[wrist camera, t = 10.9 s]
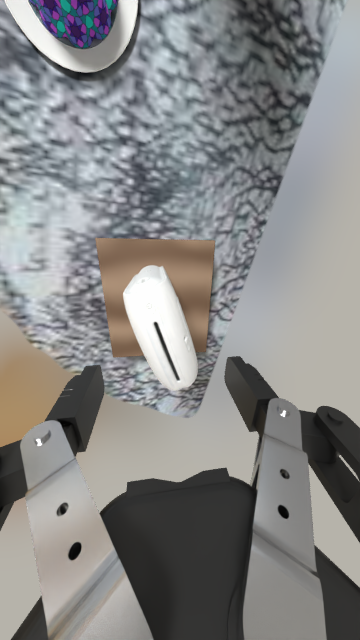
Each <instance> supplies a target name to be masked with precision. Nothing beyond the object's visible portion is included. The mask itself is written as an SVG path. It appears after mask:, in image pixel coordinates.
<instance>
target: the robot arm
mask: <svg viewBox="0 0 360 640" xmlns="http://www.w3.org/2000/svg"><path fill="white" fill-rule="evenodd" d="M225 383H226V386H227V388H228V390H229V392H230V394H231V396H232V398H233V400H234V402H235V404H236V406H237V408H238V410H239V412H240V414H241V416H242V418H243V420H244V422H245V424H246V426H247V428H248V430H249V432H253V431H257V432H258V434H259V439H258V445H257V450H256V456H255V462H254V468H253V473H252V478H251V482H250V485H249V484H247V483H245V482H244V481H242V480H239V479H237V478H234V477H230V476H229V474H228V471H227V468H221V469H213V470H208V471H202V472H200V473H198V474H196V475H194V476H193V477H190V478H188V479H186V480H184V481H182V482H171V481H165V480H159V479H154V478H153V479H145V480H139V481H132V482H127V491H126V492H125V493H123V494H121V495H119V496H118V497H116V498H115V499H114V500H112V501H111V502H110V503H109V504H108V505H107V506H106V507H105V508H104V509H103V510H102V511H101V512H100V513H99V511H98V509H97V506H96V504H95V502H94V500H93V497H92V495H91V492H90V490H89V488H88V485H87V483H86V481H85V478H84V476H83V474H82V471H81V469H80V467H79V464H78V462H77V460H76V458H75V456H76V454H77V452H84V451H86V448H87V445H88V442H89V439H90V435H91V433H92V429H93V426H94V423H95V420H96V417H97V414H98V411H99V408H100V405H101V402H102V398H103V395H104V381H103V376H102V371H101V366H100V365H93V366H86V367H85V368H84V370H83V372H82V373H81V375H76V376H75V377H73V378H72V379H71V380H70V381H69V382H68V383H67V385H66V387H65V388H64V391H62V393H61V395H60V397H59V398H58V400H57V401H56V403H55V405H54V406H53V408H52V410H51V412H50V413H49V415H48V416H47V418H46V419H45V421H44V422H42V423H40V424H38V425H37V426H35V427H33V428H32V429H31V430H30V431H29V432H27V433H26V435H25V436H24V437H23V439H22V440H19V441H16V442H14V443H11V444H8V445H5V446H3V447H0V530H1V528H2V526H3V524H4V522H5V520H6V518H7V516H8V514H9V512H10V510H11V508H12V505H13V503H14V501H16V500H19V499H21V498H23V497H25V498H26V505H27V511H28V516H29V522H30V529H31V534H32V540H33V546H34V552H35V558H36V564H37V570H38V576H39V582H40V588H41V594H42V596H41V597H40V598H39V600H38V601H37V603H36V604H35V606H34V607H33V609H32V610H31V611H30V613H29V614H28V616H27V617H26V619H25V620H24V621H23V623H22V624H21V626H20V627H19V629H18V630H17V632H16V633H15V634H14V636H13V637H12V639H11V640H360V588H359V587H358V586H357V585H356V584H355V583H354V582H353V581H352V580H351V579H350V578H349V577H348V576H347V575H346V574H345V573H344V572H342V570H341V569H339V568H338V567H337V566H336V565H335V564H334V563H333V562H332V561H330V559H329V558H328V557H327V556H326V555H325V554H324V553H322V552H321V551H320V550H319V549H318V548H317V547H316V546H315V545H314V536H313V522H312V508H311V495H310V482H309V468H308V463H309V465H310V466H311V468H312V469H313V471H314V472H315V474H316V476H317V477H318V479H319V480H320V482H321V483H322V485H323V486H324V488H325V489H326V491H327V492H328V494H329V496H330V497H331V499H332V500H333V502H334V503H335V505H336V506H337V508H338V510H339V511H340V513H341V514H342V515H343V517H344V519H345V521H346V522H347V524H348V525H349V527H350V528H351V530H352V531H353V533H354V534H355V536H356V538H357V539H358V541H359V542H360V482H359V481H360V428H359V427H358V426H357V425H356V424H355V423H354V422H353V421H352V420H351V419H350V418H349V417H348V416H347V415H345V414H344V413H342V412H341V411H339V410H337V409H335V408H332V407H329V406H321V407H319V408H318V409H317V411H316V413H313V412H306V411H301V410H298V409H297V407H296V406H295V405H293V404H292V403H291V402H289V401H287V400H285V399H281V398H279V397H278V396H277V395H276V393H275V392H274V391H273V390H272V388H271V387H270V386H269V385H268V383H267V382H266V381H265V380H264V378H263V377H262V376H261V375H260V373H259V372H258V371H257V370H256V369H255V368H254V367H253V366H251V365H250V364H246V363H245V362H244V361H243V360H242V358H241V357H240V356H236V357H228V358H227V363H226V369H225ZM339 455H341V456H342V457H343V458H344V460H345V461H346V462H347V463H348V464H349V465H350V467H351V468H352V469H353V471H354V472H355V473H356V475H357V476H358V479H359V481H358V480H357V479H356V477H355V476H354V475H353V474H352V472H351V471H350V470H349V468H348V467H347V466H346V465H345V463H344V462H343V461H342V460H341V458H339Z"/></svg>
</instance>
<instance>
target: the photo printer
mask: <svg viewBox="0 0 360 640" xmlns="http://www.w3.org/2000/svg"><path fill="white" fill-rule="evenodd" d="M123 299H124V304H125V309H126V312H127V315H128V318H129V321H130V323H131V326H132V328H133V331H134V334H135V336H136V338H137V341H138V343H139V345H140V347H141V350H142V352H143V354H144V356H145V358H146V360H147V362H148V364H149V366H150V367H151V369H152V371H153V373H154V374H155V376H156V377H157V379H158V380H159V381H160V382H161V383H162V384H163V385H164V386H165V387H166V388H167V389H169V390H173V391H177V390H179V389H181V388H184V387H189V386H190V385H192V383H193V382H194V381H195V379H196V377H197V373H198V362H197V357H196V352H195V349H194V345H193V342H192V338H191V335H190V332H189V329H188V326H187V322H186V319H185V316H184V314H183V311H182V308H181V305H180V303H179V299H178V297H177V296H176V293H175V291H174V289H173V286H172V284H171V281H170V279H169V277H168V275H167V273H166V271H165V269H164V267H163V266H161V267H158V266H154V265H150V266H146V267H144V268H143V269H142V270H141V271H140V272H139V274H136V275H135V276H134V277H133V278H132V280H131V281H130V283H129V284H128V286H127V287H126V289H125V291H124V292H123Z"/></svg>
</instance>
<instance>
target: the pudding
mask: <svg viewBox="0 0 360 640" xmlns="http://www.w3.org/2000/svg"><path fill="white" fill-rule="evenodd" d="M29 1H30V2H31V3H33V4H34V5H35V6H36V7H38V8H39V12H40V15H41V18H42V21H43V23H44V25H45V26H46V27H47V29H48V30H49V31H50V32H49V31H48V30H47V29H46V28H45V27H44V26H43V25H42V23H41V22H40V20H39V19H38V18H37V16H36V15H35V13H34V11H33V10H32V8H31V6H30V4H29V2H28V0H5V3H6V5H7V7H8V8H9V10H10V12H11V14H12V15H13V17H14V19H15V21H16V22H17V24H18V25H19V26H20V28H21V29H22V31H23V32H24V33H25V35H26V36H27V37H28V39H29V40H30V41H31V42H32V43H33V44H34V45H35V46H36V47H37V48H38V49H39V50H40V51H41V52H42V53H43V54H45V55H46V56H47V57H48V58H50V59H51V60H52V61H54V62H56V63H57V64H59V65H61V66H62V67H65V68H67V69H70V70H73V71H77V72H84V73H88V72H97V71H99V70H102V69H105V68H107V67H108V66H110V65H111V64H112V63H114V62H115V61H116V60H117V59H118V58H119V57H120V56H121V54H122V53H123V52H124V50H125V48H126V46H127V45H128V43H129V41H130V38H131V35H132V33H133V30H134V26H135V21H136V16H137V9H138V0H118V7H117V13H116V18H115V21H114V24H113V27H112V29H111V26H112V25H111V15H110V13H111V11H112V10H113V9H114V8H115V7H116V6H117V0H29ZM110 29H111V31H110ZM109 31H110V33H109ZM51 33H52V34H53V35H55V36H56V37H58V38H62V37H67V38H68V39H69V40H70V41H71V43H72V44H73V45H74V46H75V47H78V48H82V49H78V48H73V47H71V46H68V45H66V44H64V43H62V42H61V41H59V40H58V39H57V38H55V37H54V36H53V35H52V34H51ZM107 35H108V36H107ZM106 36H107V37H106ZM105 37H106V38H105ZM93 38H97V39H101V40H103V39H104V38H105V39H104V41H103V42H101V43H100V44H99V45H97V46H95V47H92V48H89V49H83V48H87V47H90V45H91V42H92V40H93Z"/></svg>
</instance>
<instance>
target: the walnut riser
mask: <svg viewBox="0 0 360 640" xmlns="http://www.w3.org/2000/svg"><path fill="white" fill-rule="evenodd" d="M95 239H96V246H97V252H98V259H99V266H100V272H101V279H102V286H103V292H104V299H105V306H106V312H107V319H108V326H109V332H110V339H111V346H112V352H113V357H128V356H144V354H143V352H142V350H141V347H140V345H139V343H138V341H137V338H136V336H135V334H134V331H133V328H132V326H131V323H130V321H129V318H128V315H127V312H126V309H125V304H124V299H123V292H124V291H125V289H126V287H127V286H128V284H129V283H130V281H131V280H132V278H133V277H134V276H135V275H136V274H139V272H140V271H141V270H142V269H143V268H144V267H146V266H150V265H154V266H158V267H161V266H163V267H164V269H165V271H166V273H167V275H168V277H169V279H170V281H171V284H172V286H173V289H174V291H175V293H176V296H177V297H178V299H179V303H180V305H181V308H182V311H183V314H184V316H185V319H186V322H187V326H188V329H189V332H190V335H191V338H192V342H193V345H194V349H195V352H206V344H207V332H208V320H209V308H210V296H211V285H212V273H213V261H214V249H215V241H214V240H165V239H116V238H95Z"/></svg>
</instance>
